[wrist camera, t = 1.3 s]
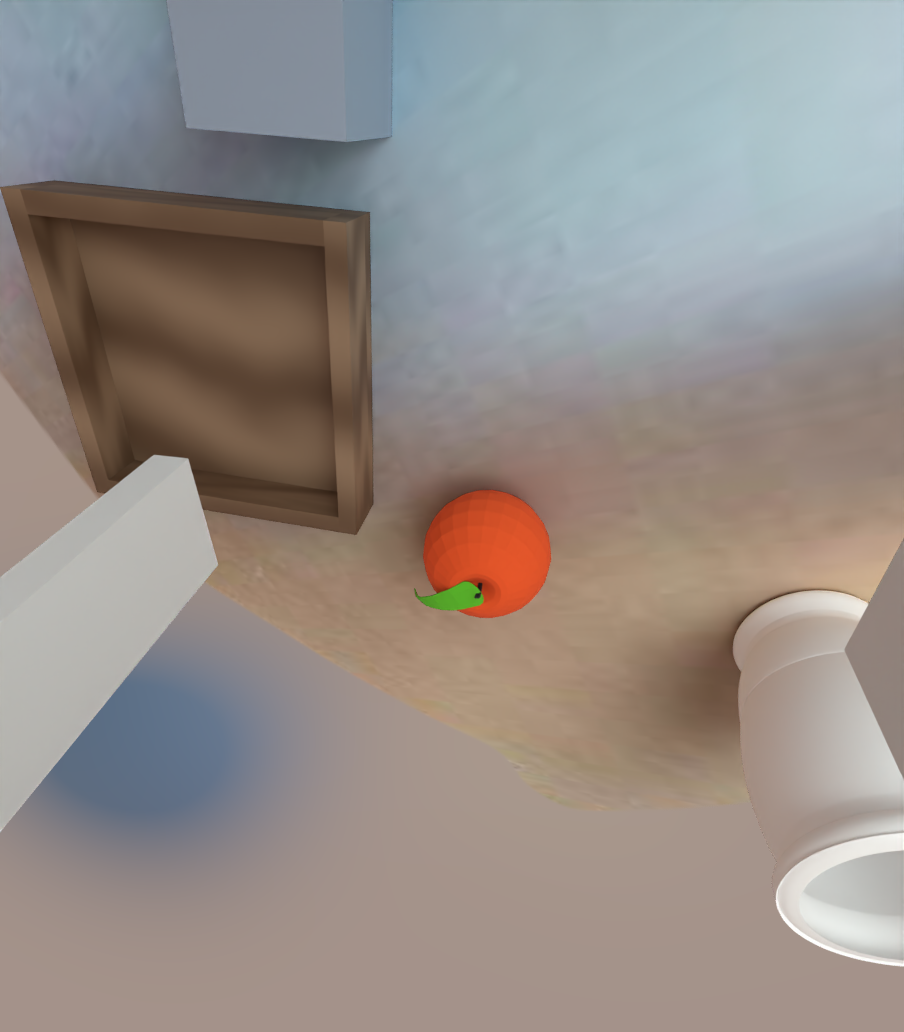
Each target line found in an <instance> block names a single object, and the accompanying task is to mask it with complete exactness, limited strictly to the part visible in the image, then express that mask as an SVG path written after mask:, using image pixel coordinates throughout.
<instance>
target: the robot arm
mask: <svg viewBox="0 0 904 1032" xmlns="http://www.w3.org/2000/svg"><path fill="white" fill-rule="evenodd" d="M217 566H218V563H217V559H216V555H215V552H214V548H213V545H212V541H211V538H210V534H209V531H208V527H207V523H206V520H205V516H204V513H203V509H202V506H201V502H200V498H199V495H198V491H197V488H196V484H195V481H194V477H193V474H192V470H191V466H190V463H189V459H188V458H180V457H170V456H161V455H153V456H152V457H150V458H149V459H148V460H147V461H145V462H144V463H143V464H142V465H140V466H139V467H138V468H137V469H135V470H134V471H133V472H132V473H130V474H129V475H128V476H127V477H125V478H124V479H123V480H122V481H120V482H119V483H118V484H117V485H115V486H114V487H113V488H112V489H110V490H109V491H108V492H107V493H105V494H104V495H103V496H101V497H100V498H99V499H98V500H96V501H95V502H94V503H93V504H91V505H90V506H89V507H88V508H87V509H85V510H84V511H83V512H81V513H80V514H79V515H78V516H77V517H75V518H74V519H73V520H71V522H69V523H68V524H66V525H65V526H64V527H63V528H61V529H60V530H59V531H58V532H56V533H55V534H54V535H53V536H51V537H50V538H49V539H48V540H46V541H45V542H44V543H42V544H41V545H40V546H39V547H37V548H36V549H35V550H34V551H33V552H31V553H30V554H29V555H27V556H26V557H25V558H24V559H23V560H21V561H20V562H19V563H17V564H16V565H15V566H14V567H12V568H11V569H10V570H9V571H7V572H6V573H5V574H4V575H2V576H1V577H0V832H1V830H2V829H3V828H4V827H5V826H6V824H7V823H8V822H9V821H10V819H11V818H12V817H13V816H14V814H15V813H16V812H17V811H18V809H19V808H20V807H21V806H22V805H23V803H24V802H25V801H26V800H27V799H28V797H29V796H30V795H31V794H32V792H33V791H34V790H35V789H36V788H37V786H38V785H39V784H40V783H41V781H42V780H43V779H44V778H45V776H46V775H47V774H48V773H49V772H50V770H51V769H52V768H53V767H54V765H55V764H56V763H57V762H58V761H59V759H60V758H61V757H62V756H63V754H64V753H65V752H66V751H67V750H68V748H69V747H70V746H71V745H72V743H73V742H74V741H75V740H76V739H77V737H78V736H79V735H80V734H81V732H82V731H83V730H84V728H85V727H86V726H87V725H88V724H89V723H90V721H91V720H92V719H93V718H94V716H95V715H96V714H97V713H98V712H99V710H100V709H101V708H102V707H103V705H104V704H105V703H106V702H107V700H108V699H109V698H110V697H111V695H112V694H113V693H114V692H115V691H116V690H117V688H118V687H119V686H120V685H121V683H122V682H123V681H124V680H125V678H126V677H127V676H128V675H129V674H130V672H131V671H132V670H133V669H134V667H135V666H136V665H137V664H138V662H139V661H140V660H141V659H142V658H143V656H144V655H145V654H146V653H147V652H148V650H149V649H150V648H151V647H152V645H153V644H154V643H155V642H156V640H157V639H158V638H159V636H161V634H162V633H163V632H164V631H165V629H166V628H167V627H168V626H169V625H170V623H171V622H172V621H173V619H174V618H175V617H176V616H177V615H178V614H179V612H180V611H181V610H182V609H183V607H184V606H185V605H186V604H187V603H188V601H189V600H190V599H191V598H192V596H193V595H194V594H195V593H196V591H197V590H198V589H199V588H200V587H201V585H202V584H203V583H204V582H205V580H206V579H207V578H208V577H209V576H210V574H211V573H212V572H213V571H214V569H215V568H216V567H217ZM844 650H845V653H846V655H847V657H848V659H849V661H850V664H851V666H852V668H853V670H854V672H855V675H856V677H857V679H858V681H859V683H860V685H861V688H862V690H863V692H864V694H865V696H866V699H867V701H868V703H869V705H870V707H871V710H872V712H873V714H874V716H875V718H876V721H877V723H878V725H879V727H880V729H881V731H882V734H883V736H884V738H885V740H886V742H887V745H888V747H889V749H890V751H891V753H892V756H893V758H894V760H895V762H896V764H897V766H898V769H899V771H900V773H901V775H902V777H903V780H904V539H903V541H902V543H901V544H900V546H899V548H898V550H897V552H896V554H895V556H894V557H893V559H892V561H891V563H890V565H889V567H888V569H887V571H886V572H885V574H884V576H883V578H882V580H881V582H880V584H879V585H878V587H877V589H876V591H875V593H874V595H873V597H872V598H871V600H870V602H869V604H868V606H867V608H866V610H865V611H864V613H863V615H862V617H861V619H860V621H859V623H858V625H857V626H856V628H855V630H854V632H853V634H852V636H851V638H850V639H849V641H848V643H847V645H846V647H845V649H844Z"/></svg>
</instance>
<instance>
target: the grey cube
mask: <svg viewBox="0 0 904 1032" xmlns="http://www.w3.org/2000/svg"><path fill="white" fill-rule="evenodd" d="M166 2H167V9H168V15H169V21H170V28H171V34H172V41H173V47H174V53H175V60H176V66H177V72H178V79H179V85H180V92H181V98H182V104H183V111H184V117H185V123H186V128H192V129H203V130H215V131H226V132H238V133H249V134H260V135H272V136H283V137H294V138H306V139H317V140H329V141H340V142H352V141H360V140H369V139H377V138H386V137H392V14H393V0H166Z"/></svg>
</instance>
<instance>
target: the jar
mask: <svg viewBox="0 0 904 1032" xmlns="http://www.w3.org/2000/svg"><path fill="white" fill-rule="evenodd" d="M867 606H868V603H866V602H865V601H863V600H861V599H859V598H857V597H854V596H851V595H848V594H845V593H840V592H835V591H824V590H812V591H802V592H796V593H792V594H788V595H784V596H781V597H779V598H776V599H773V600H771V601H769V602H767V603H765V604H764V605H762V606H760V607H759V608H757V609H756V610H755V611H753V612H752V613H751V614H750V615H749V616H748V617H747V618H746V619H745V620H744V621H743V622H742V624H741V625H740V626H739V628H738V630H737V632H736V634H735V637H734V641H733V655H734V659H735V662H736V664H737V666H738V668H739V670H740V671H741V676H740V681H739V689H738V709H739V719H740V724H741V725H740V746H741V757H742V765H743V771H744V776H745V781H746V785H747V789H748V793H749V796H750V800H751V803H752V806H753V809H754V812H755V815H756V818H757V820H758V823H759V826H760V828H761V831H762V833H763V836H764V838H765V840H766V842H767V845H768V846H769V849H770V850H771V853H772V854H773V856H774V858H775V860H776V862H777V863H776V865H775V868H774V871H773V876H772V887H773V893H774V897H775V900H776V904H777V908H778V911H779V913H780V915H781V917H782V918H783V920H784V921H785V922H786V923H787V925H788V926H789V927H790V928H791V929H793V930H794V931H795V932H796V933H797V934H799V935H800V936H802V937H803V938H805V939H807V940H808V941H810V942H812V943H814V944H816V945H818V946H820V947H822V948H824V949H827V950H829V951H832V952H835V953H838V954H841V955H844V956H848V957H852V958H855V959H859V960H863V961H869V962H874V963H880V964H887V965H895V966H904V780H903V777H902V775H901V773H900V771H899V769H898V766H897V764H896V762H895V760H894V758H893V756H892V753H891V751H890V749H889V747H888V745H887V742H886V740H885V738H884V736H883V734H882V731H881V729H880V727H879V725H878V723H877V721H876V718H875V716H874V714H873V712H872V710H871V707H870V705H869V703H868V701H867V699H866V696H865V694H864V692H863V690H862V688H861V685H860V683H859V681H858V679H857V677H856V675H855V672H854V670H853V668H852V666H851V664H850V661H849V659H848V657H847V655H846V653H845V650H844V649H845V647H846V645H847V643H848V641H849V639H850V638H851V636H852V634H853V632H854V630H855V628H856V626H857V625H858V623H859V621H860V619H861V617H862V615H863V613H864V611H865V610H866V608H867Z"/></svg>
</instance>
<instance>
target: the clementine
mask: <svg viewBox="0 0 904 1032" xmlns="http://www.w3.org/2000/svg"><path fill="white" fill-rule="evenodd" d="M423 559H424V564H425V568H426V572H427V576H428V579H429V581H430V583H431V585H432V586H433V588H434V590H435V591H436V592H437V594H435V595H432V596H426V597H419V596H418V595H417V592H416V589H415V588H414V590H415V595H416V597H417V598H418V599H419V600H420V601H421V602H422V603H423V604H425V605H426V606H429V607H432V608H436V609H440V610H457V611H460V612H462V613H464V614H467V615H470V616H475V617H480V618H493V617H499V616H503V615H507V614H510V613H512V612H514V611H517V610H519V609H521V608H522V607H524V606H525V605H526V604H527V603H529V602H530V601H531V600H532V599H533V598H534V597H535V596H536V594H537V593H538V592H539V590H540V589H541V587H542V586H543V584H544V583H545V580H546V577H547V573H548V570H549V566H550V562H551V551H550V542H549V536H548V533H547V531H546V528H545V526H544V524H543V522H542V521H541V520H540V518H539V517H538V516H537V514H536V513H535V512H534V511H533V509H532V508H531V507H530V506H529V505H527V504H526V503H525V502H523V501H522V500H521V499H519V498H517V497H515V496H513V495H510V494H508V493H505V492H500V491H495V490H477V491H474V492H470V493H467V494H464V495H462V496H460V497H458V498H456V499H455V500H453V501H451V502H449V503H448V504H446V505H445V506H444V507H443V508H442V509H441V511H440V512H439V513H438V514H437V515H436V517H435V518H434V520H433V521H432V523H431V525H430V527H429V529H428V531H427V534H426V538H425V545H424V554H423Z"/></svg>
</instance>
